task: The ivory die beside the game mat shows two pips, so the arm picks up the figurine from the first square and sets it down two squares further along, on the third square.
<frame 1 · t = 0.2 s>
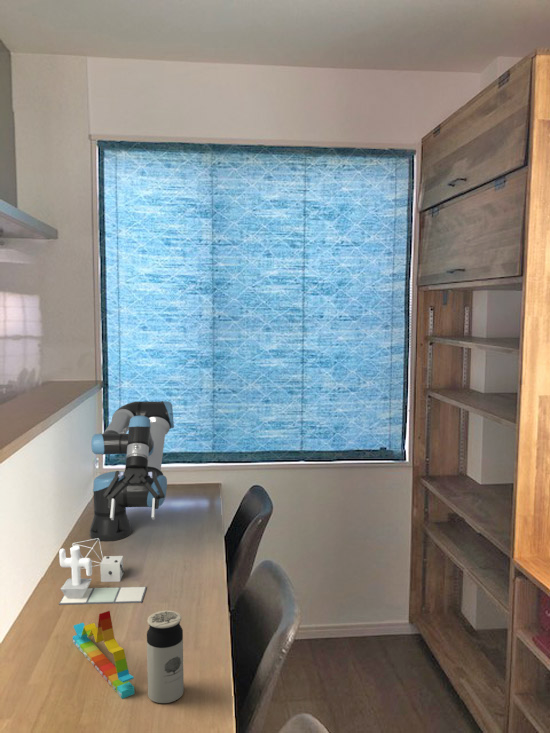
hand: (132, 518, 217), 16 cm above the table, tool tilted 35°, fingers open, 13 cm apart
die: (112, 577, 209), on the table
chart: (101, 668, 159), on the table
game mat: (103, 595, 196), on the table
geometric polyhedron: (88, 565, 219), on the table
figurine: (76, 595, 196), resting on game mat
travel mug: (165, 694, 148), on the table
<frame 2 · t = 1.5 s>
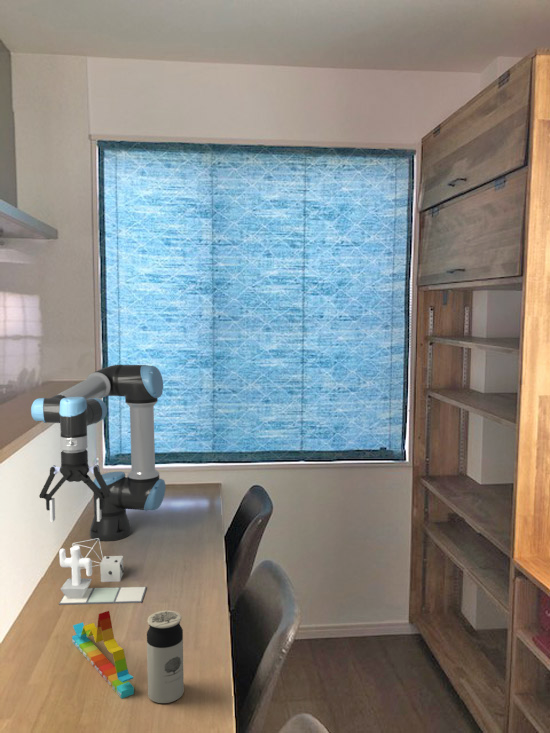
hand: (75, 520, 194), 23 cm above the table, tool pointing down, fingers open, 13 cm apart
nothing on the table moved.
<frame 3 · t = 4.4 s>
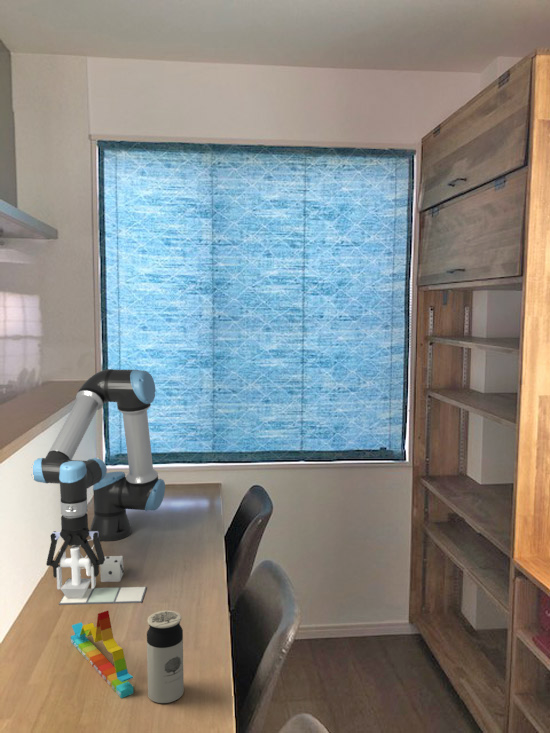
hand: (76, 586, 195), 3 cm above the table, tool pointing down, fingers closed on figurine, 9 cm apart
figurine: (76, 595, 196), resting on game mat, touching gripper
everything else where it was.
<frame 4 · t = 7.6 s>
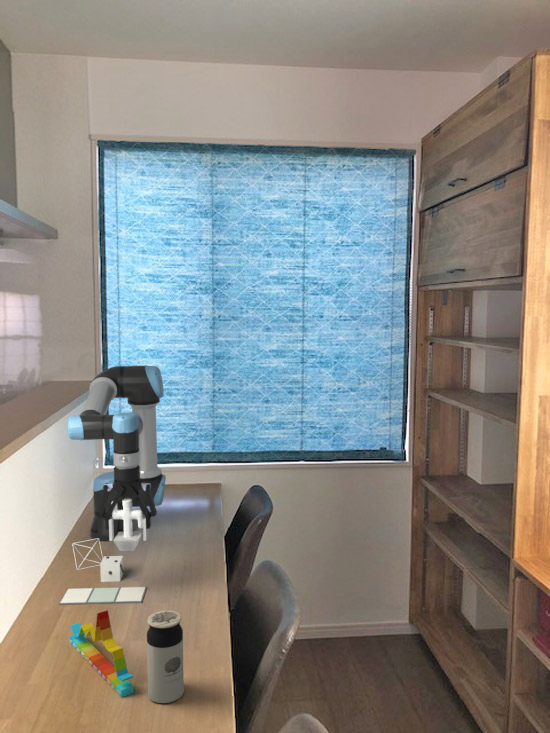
hand: (128, 539, 195), 18 cm above the table, tool pointing down, fingers closed on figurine, 9 cm apart
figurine: (128, 548, 195), point 15 cm above the table, touching gripper
everything else where it was.
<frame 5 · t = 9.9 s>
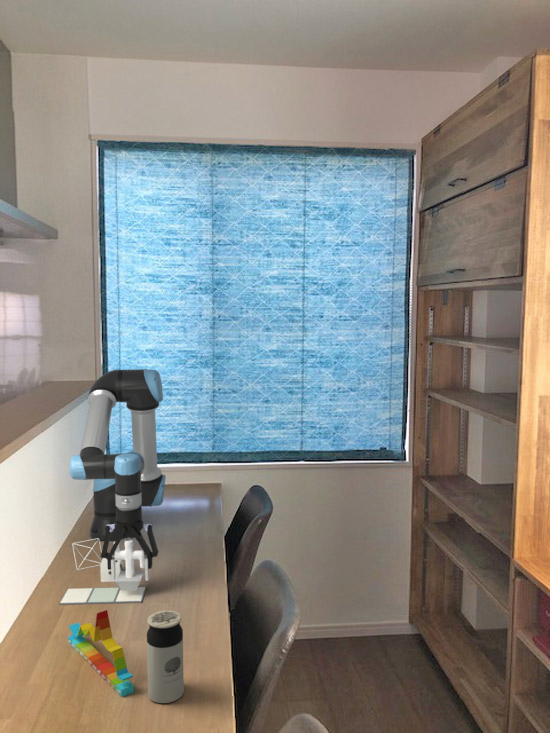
hand: (130, 579, 196), 5 cm above the table, tool pointing down, fingers closed on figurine, 9 cm apart
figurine: (130, 588, 196), point 2 cm above the table, touching gripper
everything else where it was.
when the fingers open (4 cm above the table, at t = 11.0 s): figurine drops 1 cm, resting on game mat.
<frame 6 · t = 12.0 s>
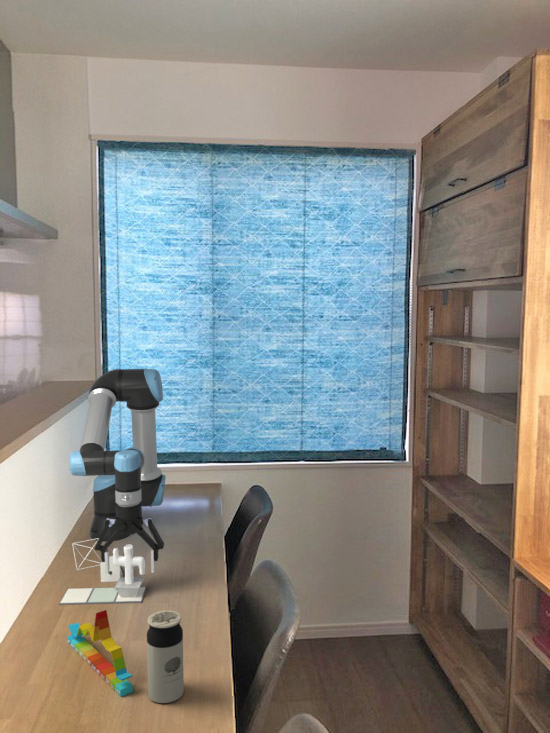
hand: (130, 571, 196), 7 cm above the table, tool pointing down, fingers open, 13 cm apart
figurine: (129, 594, 197), resting on game mat
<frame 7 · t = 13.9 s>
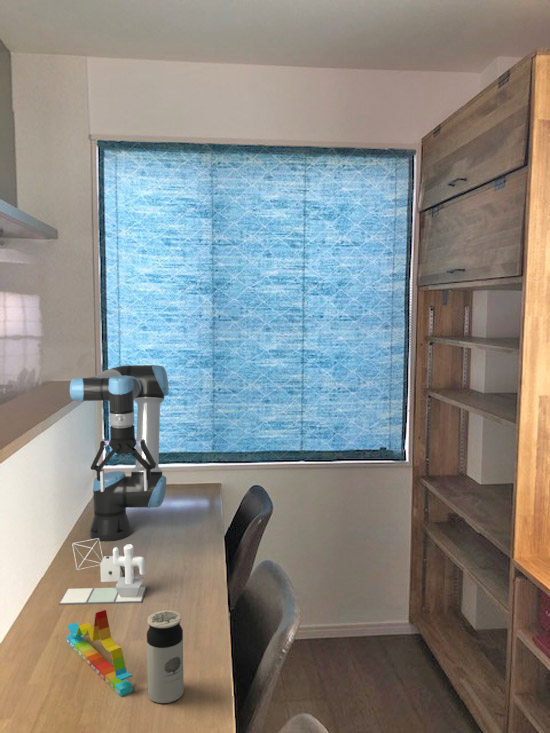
hand: (124, 490, 209), 28 cm above the table, tool pointing down, fingers open, 13 cm apart
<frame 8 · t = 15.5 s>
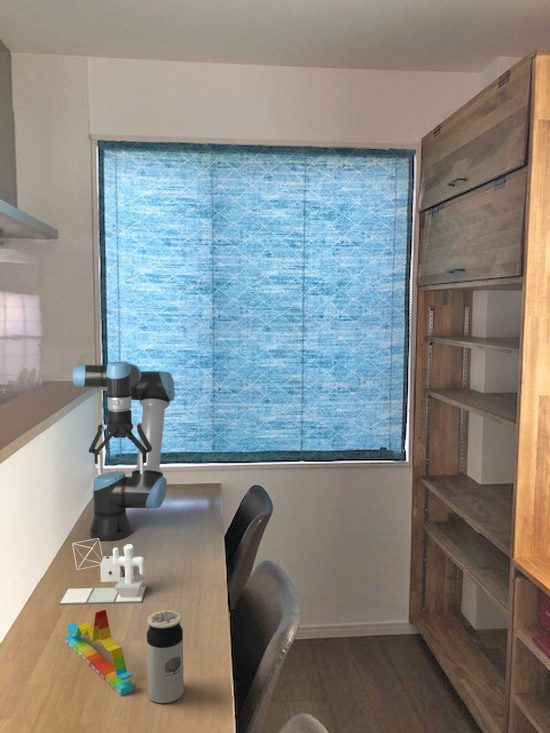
hand: (121, 473, 215), 32 cm above the table, tool pointing down, fingers open, 13 cm apart
at the end: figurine 0.3 cm from the target spot on the game mat, point 0.2 cm above the game mat's base; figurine tilted 0°; the gripper is holding nothing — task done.
